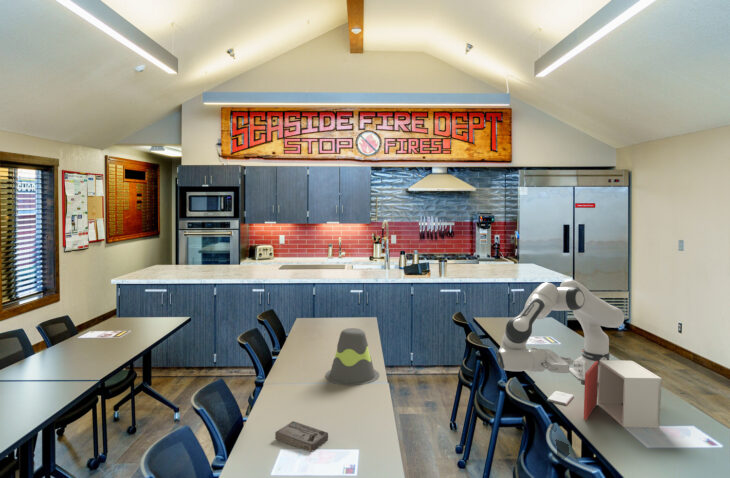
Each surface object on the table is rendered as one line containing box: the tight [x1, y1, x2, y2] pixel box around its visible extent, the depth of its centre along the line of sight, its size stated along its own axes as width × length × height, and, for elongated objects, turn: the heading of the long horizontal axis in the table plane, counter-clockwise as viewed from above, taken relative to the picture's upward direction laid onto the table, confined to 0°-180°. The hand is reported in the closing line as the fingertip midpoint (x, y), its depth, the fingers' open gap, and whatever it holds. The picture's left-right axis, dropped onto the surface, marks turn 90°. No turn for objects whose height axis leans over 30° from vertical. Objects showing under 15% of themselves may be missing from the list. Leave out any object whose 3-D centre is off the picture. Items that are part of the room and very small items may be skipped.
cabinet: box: [597, 359, 662, 429], centre depth 197 cm, size 22×14×20 cm, turn 178°
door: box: [580, 361, 599, 421], centre depth 201 cm, size 21×3×19 cm, turn 143°
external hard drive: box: [546, 390, 575, 406], centre depth 215 cm, size 2×8×12 cm
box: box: [274, 420, 329, 453], centre depth 175 cm, size 11×17×3 cm, turn 59°
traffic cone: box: [325, 327, 380, 386], centre depth 243 cm, size 28×28×24 cm
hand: (571, 361), depth 193 cm, fingers closed
